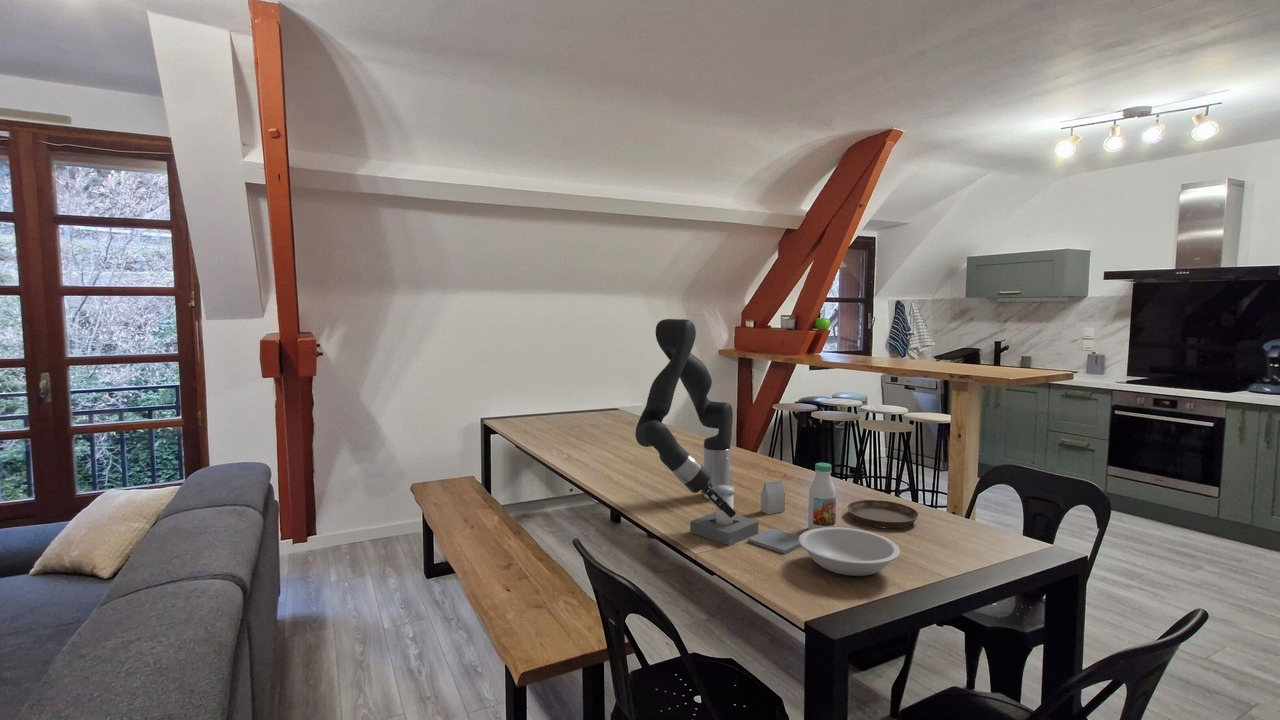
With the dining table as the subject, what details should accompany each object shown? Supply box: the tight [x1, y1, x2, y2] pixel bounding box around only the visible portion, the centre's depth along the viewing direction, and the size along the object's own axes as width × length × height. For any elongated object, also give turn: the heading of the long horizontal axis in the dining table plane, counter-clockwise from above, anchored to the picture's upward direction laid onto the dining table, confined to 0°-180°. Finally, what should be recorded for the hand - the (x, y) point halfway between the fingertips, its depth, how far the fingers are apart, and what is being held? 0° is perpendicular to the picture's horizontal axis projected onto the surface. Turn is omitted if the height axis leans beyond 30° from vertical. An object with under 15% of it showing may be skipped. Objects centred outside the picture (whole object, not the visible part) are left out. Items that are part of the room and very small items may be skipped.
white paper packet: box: [760, 479, 786, 515], centre depth 198 cm, size 4×7×10 cm, turn 116°
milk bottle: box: [807, 462, 837, 530], centre depth 180 cm, size 8×8×20 cm
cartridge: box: [715, 485, 735, 527], centre depth 178 cm, size 5×5×14 cm
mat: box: [747, 528, 801, 555], centre depth 171 cm, size 12×12×1 cm
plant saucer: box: [846, 499, 920, 529], centre depth 191 cm, size 21×21×3 cm
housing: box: [689, 511, 759, 547], centre depth 178 cm, size 14×14×4 cm
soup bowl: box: [799, 526, 901, 577], centre depth 153 cm, size 24×24×7 cm
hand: (730, 512), depth 178 cm, fingers closed on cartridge, 5 cm apart
